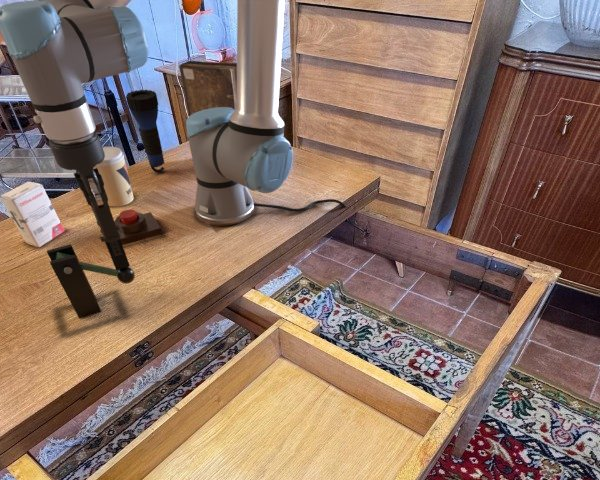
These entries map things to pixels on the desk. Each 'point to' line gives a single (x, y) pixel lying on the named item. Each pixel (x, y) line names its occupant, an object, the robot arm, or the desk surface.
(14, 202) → the ink box
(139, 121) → the flashlight
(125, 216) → the button
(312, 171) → the desk surface
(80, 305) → the bracket
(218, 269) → the desk surface
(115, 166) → the coffee cup
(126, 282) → the lever
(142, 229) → the button block
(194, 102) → the book
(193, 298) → the desk surface
